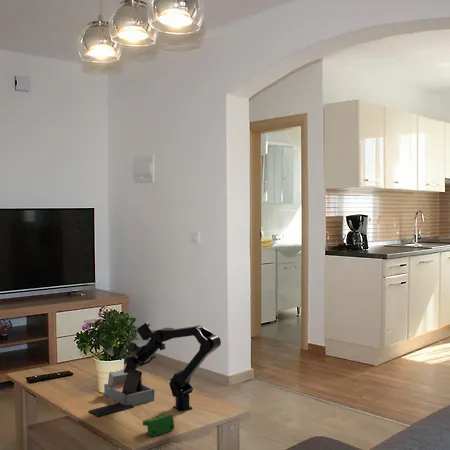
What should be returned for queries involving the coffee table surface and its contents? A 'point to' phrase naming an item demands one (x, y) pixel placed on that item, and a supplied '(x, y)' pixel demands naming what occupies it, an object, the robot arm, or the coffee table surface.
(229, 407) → the coffee table surface
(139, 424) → the coffee table surface
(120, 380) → the flap
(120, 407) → the cell phone
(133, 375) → the phone stand
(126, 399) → the flap frame
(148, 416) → the coffee table surface
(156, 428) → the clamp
